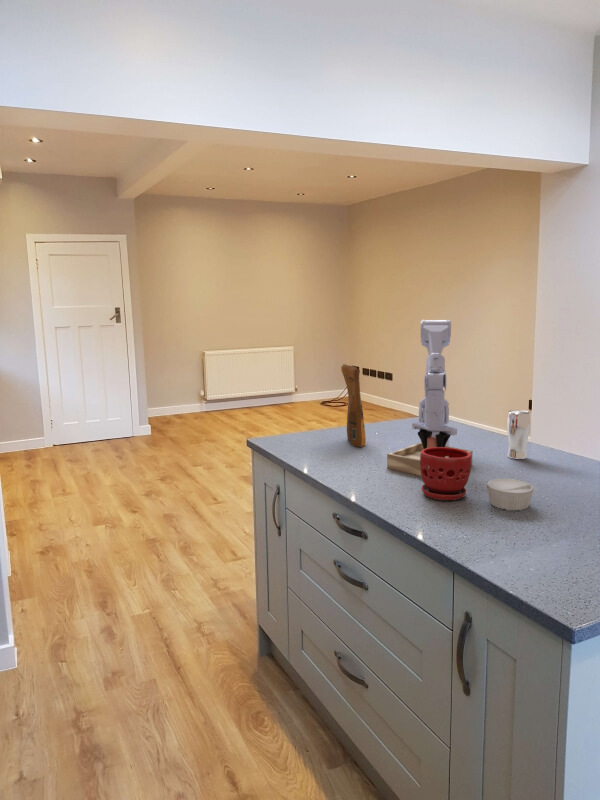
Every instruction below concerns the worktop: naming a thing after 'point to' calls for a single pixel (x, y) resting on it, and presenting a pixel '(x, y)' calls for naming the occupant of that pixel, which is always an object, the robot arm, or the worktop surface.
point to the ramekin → (509, 493)
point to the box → (409, 459)
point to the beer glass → (518, 433)
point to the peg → (431, 442)
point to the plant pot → (445, 472)
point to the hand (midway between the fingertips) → (433, 454)
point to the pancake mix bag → (354, 407)
